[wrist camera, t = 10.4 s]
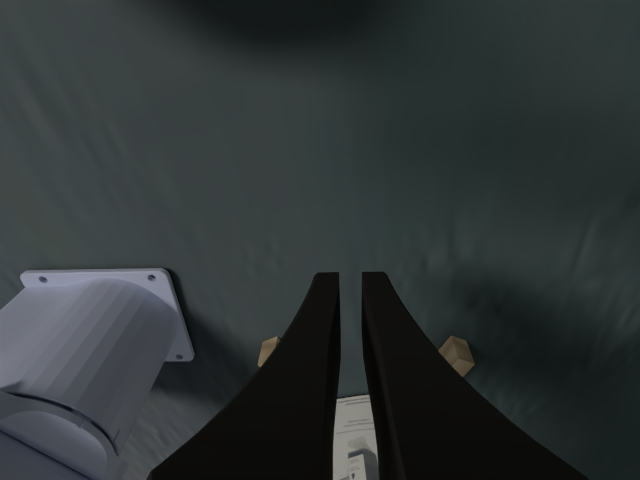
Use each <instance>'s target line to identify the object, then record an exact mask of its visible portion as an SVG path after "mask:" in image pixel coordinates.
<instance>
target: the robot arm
mask: <svg viewBox="0 0 640 480" xmlns="http://www.w3.org/2000/svg"><path fill="white" fill-rule="evenodd" d="M151 275H153V276H155V277H156V278H154V277H152V276H151ZM44 277H45V278H44ZM20 278H21V281H22V283H23V284H24V286H25V288H24V289H23V290H22V291H21V292H20V293H19V294H18V295H17V296H15V297H14V298H13V299H12V300H11V301H10V302H9V303H8V304H7V305H6V306H5V307H3V308H2V309H1V310H0V480H122V479H123V476H124V474H125V472H126V470H127V468H128V465H127V464H126V463H125V462H123V461H122V460H121V459H120V458H119V455H120V453H121V451H122V448H123V446H124V444H125V442H126V440H127V438H128V436H129V434H130V432H131V430H132V428H133V426H134V424H135V422H136V419H137V417H138V415H139V413H140V411H141V409H142V407H143V405H144V403H145V401H146V399H147V397H148V395H149V392H150V390H151V388H152V386H153V384H154V382H155V380H156V378H157V376H158V374H159V372H160V370H161V368H162V366H163V363H164V361H191V360H193V358H194V355H195V353H194V350H193V347H192V344H191V340H190V337H189V334H188V331H187V328H186V325H185V321H184V318H183V315H182V312H181V309H180V306H179V302H178V299H177V296H176V293H175V290H174V287H173V283H172V280H171V277H170V274H169V272H168V271H167V270H165V269H162V268H140V269H81V270H28V271H25V272H24V273H23V274H21V276H20ZM362 344H363V358H364V365H365V371H366V378H367V384H368V390H369V396H370V403H371V409H372V415H373V421H374V428H375V435H376V444H377V456H378V470H379V480H589V479H588V478H587V477H586V476H584V475H583V474H581V473H580V472H579V471H577V470H576V469H574V468H573V467H572V466H570V465H569V464H567V463H566V462H564V461H563V460H562V459H560V458H559V457H557V456H556V455H555V454H553V453H552V452H550V451H549V450H548V449H546V448H545V447H543V446H542V445H541V444H539V443H538V442H536V441H535V440H534V439H532V438H531V437H530V436H529V435H527V434H526V433H525V432H524V431H522V430H521V429H520V428H519V427H517V426H516V425H515V424H514V423H512V422H511V421H510V420H509V419H508V418H506V417H505V416H504V415H503V414H502V413H501V412H500V411H499V410H497V409H496V408H495V407H494V406H493V405H492V404H491V403H489V402H488V401H487V400H486V399H485V398H484V397H483V396H482V395H480V394H479V393H478V392H477V391H476V390H475V389H474V388H473V387H472V386H471V385H470V384H469V383H468V382H467V381H466V380H465V379H464V378H463V377H462V376H461V375H460V374H459V373H458V372H457V371H456V370H455V369H454V368H453V367H452V366H451V365H450V364H449V363H448V361H447V360H446V359H445V358H444V357H443V356H442V355H441V354H440V352H439V351H438V350H437V349H436V348H435V346H434V345H433V344H432V343H431V342H430V340H429V339H428V338H427V337H426V335H425V334H424V333H423V331H422V330H421V329H420V327H419V326H418V325H417V323H416V322H415V320H414V319H413V318H412V316H411V315H410V313H409V312H408V310H407V309H406V308H405V306H404V304H403V303H402V301H401V300H400V298H399V296H398V295H397V293H396V291H395V290H394V288H393V286H392V284H391V282H390V280H389V278H388V276H387V274H385V273H384V272H362ZM340 360H341V329H340V294H339V272H328V273H317V274H316V275H315V276H314V278H313V281H312V284H311V286H310V289H309V291H308V293H307V295H306V297H305V299H304V301H303V303H302V305H301V307H300V309H299V311H298V312H297V314H296V316H295V318H294V319H293V321H292V323H291V324H290V326H289V328H288V329H287V331H286V332H285V334H284V335H283V337H282V338H281V340H280V341H279V343H278V344H277V346H276V347H275V349H274V350H273V351H272V353H271V354H270V355H269V357H268V358H267V359H266V361H265V362H264V363H263V364H262V366H261V367H260V368H259V370H258V371H257V372H256V373H255V374H254V375H253V377H252V378H251V379H250V380H249V381H248V382H247V383H246V385H245V386H244V387H243V388H242V389H241V390H240V391H239V392H238V394H237V395H236V396H235V397H234V398H233V399H232V400H231V401H230V402H229V403H228V404H227V405H226V406H225V407H224V408H223V409H222V410H221V411H220V412H219V413H218V414H217V415H216V416H214V417H213V418H212V419H211V420H210V421H209V422H208V423H207V424H206V425H205V426H204V427H203V428H202V429H201V430H200V431H199V432H198V433H196V434H195V435H194V436H193V437H192V438H191V439H190V440H188V441H187V442H186V443H185V444H184V445H182V446H181V447H180V448H179V449H178V450H176V451H175V452H174V453H173V454H171V455H170V456H169V457H168V458H167V459H165V460H164V461H163V462H162V463H161V464H159V465H158V466H157V467H156V468H154V469H153V470H152V471H151V472H150V474H149V476H148V477H147V479H146V480H333V441H334V425H335V414H336V404H337V393H338V382H339V371H340Z"/></svg>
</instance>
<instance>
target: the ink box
mask: <svg viewBox="0 0 640 480" xmlns="http://www.w3.org/2000/svg"><path fill="white" fill-rule="evenodd" d="M333 480H379V470H378V456H377V444H376V435H375V428H374V421H373V415H372V409H371V403H370V396H369V395H361V396H353V397H347V398H341V399H337V404H336V414H335V425H334V441H333Z"/></svg>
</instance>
